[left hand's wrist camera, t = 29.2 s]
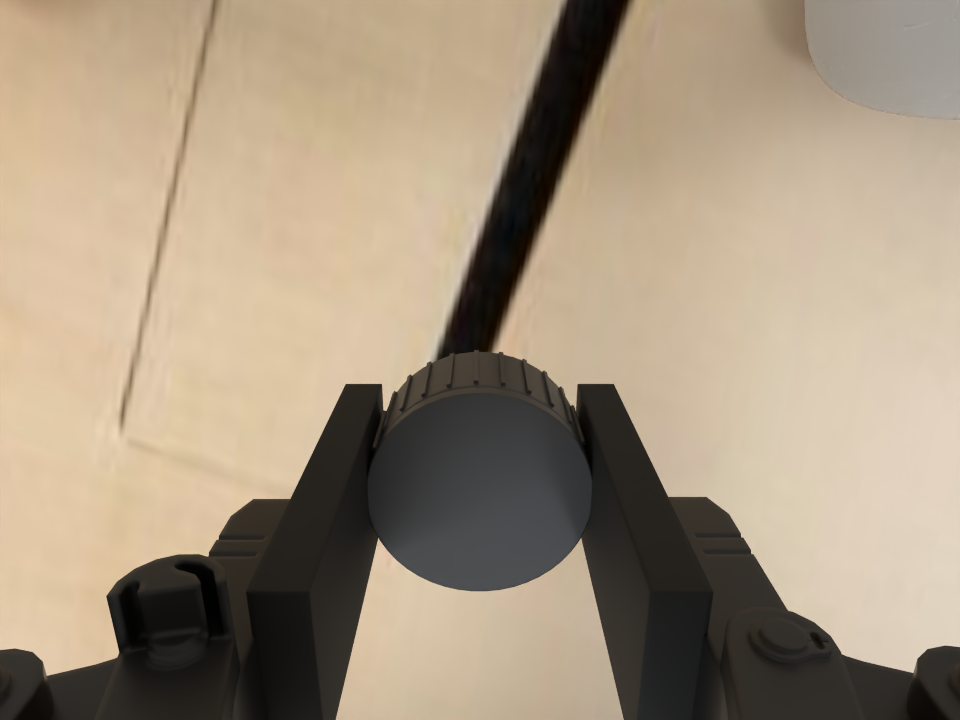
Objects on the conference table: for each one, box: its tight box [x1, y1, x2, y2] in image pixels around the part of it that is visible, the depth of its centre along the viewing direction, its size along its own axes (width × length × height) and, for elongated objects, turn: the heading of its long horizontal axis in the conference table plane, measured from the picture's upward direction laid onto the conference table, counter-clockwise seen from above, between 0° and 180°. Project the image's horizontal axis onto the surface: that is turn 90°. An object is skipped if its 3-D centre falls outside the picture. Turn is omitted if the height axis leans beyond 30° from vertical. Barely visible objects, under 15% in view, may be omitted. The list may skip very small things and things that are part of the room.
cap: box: [367, 350, 592, 591], centre depth 14 cm, size 4×4×2 cm
